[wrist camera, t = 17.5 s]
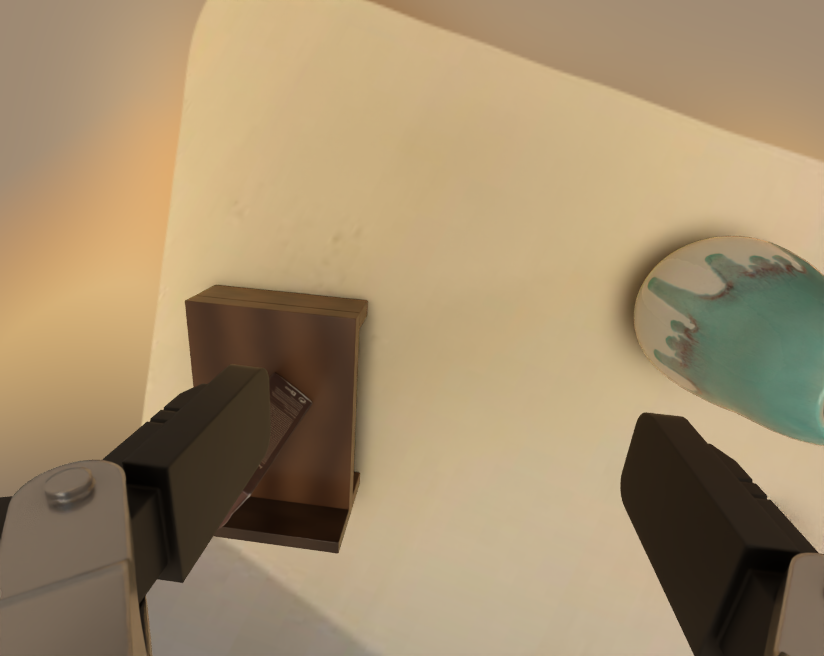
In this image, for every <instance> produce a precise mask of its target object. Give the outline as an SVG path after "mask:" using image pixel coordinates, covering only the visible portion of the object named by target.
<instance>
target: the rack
mask: <svg viewBox="0 0 824 656" xmlns="http://www.w3.org/2000/svg"><path fill="white" fill-rule="evenodd" d="M185 306H186V316H187V326H188V336H189V346H190V356H191V366H192V376H193V386H194V387H196V386H198V385H200V384H202V383H204V384H208V383H209V382H211V381H212V380H213V379H214V378H215V377H216V376H217V375H218V374H219V373H221V372H222V371H223V370H224V369H225V368H226V367H227V366H229V365H231V364H233V365H242V366H250V367H259V368H265V369H266V370H267V372H268V375H269V377H270V376H271V375H272V374H273V373H276V374H278V375H279V376H281V377H282V378H283V379H284V380H286V381H287V382H289V383H290V384H291V385H292V386H294V387H295V388H297V389H298V390H299V391H300V392H301V393H302V394H304V395H306V396H307V397H308V399H309V400H310V401H311V402H312V405H311V407H310V408H309V410H308V411H307V413H306V414H305V416H304V417H303V419H302V420H301V422H300V423H299V424H298V426H297V427H296V429H295V430H294V432H293V433H292V435H291V436H290V438H289V439H288V441H287V442H286V444H285V445H284V447H283V448H282V450H281V451H280V453H279V454H278V456H277V457H276V459H275V460H274V462H273V463H272V465H271V466H270V468H269V469H268V471H267V472H266V473H265V475H264V476H263V478H262V480H261V481H260V482H259V484H258V485H257V487H256V488H255V490H254V491H253V493H252V494H251V495H250V497H249V498H248V499H247V500H246V501H245V502H244V503H243V504H242V505H241V506H240V507H239V508H238V509H237V510H236V511H235V512H234V513H233V514H232V515H231V517H230V519H229V520H228V522H227V523H226V524H225V525H224V526H222V527H221V528H219V529H218V530H217V531H216V532H215V534H214V536H216V537H223V538H230V539H238V540H245V541H252V542H259V543H266V544H274V545H281V546H288V547H295V548H302V549H310V550H317V551H324V552H331V553H339V550H340V547H341V543H342V540H343V537H344V534H345V530H346V527H347V524H348V520H349V517H350V514H351V510H352V507H353V504H354V501H355V497H356V494H357V491H358V488H359V484H360V473H358V472H354V450H355V424H356V399H357V374H358V348H359V329H360V327H361V325H362V324H363V322H364V320H365V318H366V317H367V307H368V301H367V300H357V299H347V298H338V297H328V296H318V295H309V294H299V293H289V292H280V291H270V290H260V289H251V288H241V287H231V286H221V285H214V286H212V287H210V288H209V289H207V290H205V291H203V292H201V293H199V294H197V295H195V296H193V297H191V298H189V299H187V300H185Z"/></svg>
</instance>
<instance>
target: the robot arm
mask: <svg viewBox="0 0 824 656" xmlns="http://www.w3.org/2000/svg"><path fill="white" fill-rule="evenodd" d="M270 435H271V420H270V391H269V375H268V372H267V370H266V369H265V368H259V367H250V366H242V365H233V364H231V365H229V366H227V367H226V368H225V369H224V370H223V371H222V372H221V373H219V374H218V375H217V376H216V377H215V378H214V379H213V380H212V381H211V382H209V383H208V384H204V383H202V384H200V385H198V386H196V387H194V388H191V389H189V390H187V391H185V392H183V393H180V394H179V395H178V396H177V397H176V398H174V399H173V400H172V401H171V402H170V403H168V404H167V405H166V406H165V407H164V410H160V411H159V412H158V413H157V414H156V415H154V416H153V417H152V418H151V420H150V422H146V423H145V424H144V425H143V426H141V427H140V428H139V429H138V430H137V431H135V432H134V433H133V434H132V435H131V436H130V437H128V438H127V439H126V440H125V441H124V442H123V443H121V444H120V445H119V446H118V447H117V448H116V449H114V450H113V451H112V452H111V453H110V454H109V455H107V456H106V457H105V458H104V459H103V460H85V461H78V462H73V463H69V464H65V465H62V466H59V467H56V468H53V469H51V470H48V471H46V472H44V473H42V474H40V475H38V476H36V477H34V478H33V479H31V480H30V481H28V482H27V483H26V484H25V485H23V486H22V487H21V488H20V489H19V490H18V491H17V492H16V493H15V494H14V496H11V497H1V498H0V656H153V655H152V645H151V635H150V625H149V615H148V605H147V599H146V594H147V592H148V591H149V590H150V588H151V587H152V585H153V584H154V583H155V581H156V580H157V579H160V580H167V581H174V582H180V583H183V582H184V580H185V579H186V577H187V576H188V574H189V573H190V571H191V569H192V568H193V566H194V565H195V563H196V562H197V560H198V559H199V557H200V556H201V554H202V553H203V551H204V549H205V548H206V546H207V545H208V543H209V542H210V540H211V539H212V537H213V536H214V534H215V532H216V531H217V529H218V528H219V526H220V525H221V523H222V522H223V520H224V519H225V517H226V516H227V514H228V512H229V511H230V509H231V508H232V506H233V505H234V503H235V502H236V500H237V499H238V497H239V496H240V494H241V492H242V491H243V489H244V488H245V486H246V485H247V483H248V482H249V480H250V479H251V477H252V476H253V474H254V472H255V471H256V469H257V468H258V466H259V465H260V463H261V462H262V460H263V458H264V457H265V455H266V452H267V449H268V446H269V442H270ZM621 497H622V501H623V504H624V507H625V509H626V511H627V513H628V515H629V517H630V520H631V522H632V524H633V526H634V528H635V530H636V532H637V535H638V537H639V539H640V541H641V543H642V545H643V547H644V549H645V552H646V554H647V556H648V558H649V560H650V562H651V564H652V566H653V569H654V571H655V573H656V575H657V577H658V579H659V581H660V584H661V586H662V588H663V590H664V592H665V594H666V596H667V598H668V601H669V603H670V605H671V607H672V609H673V611H674V613H675V615H676V618H677V620H678V622H679V624H680V626H681V628H682V630H683V633H684V635H685V637H686V639H687V641H688V643H689V645H690V647H691V650H692V652H693V654H694V656H824V554H819V553H818V552H817V551H816V550H815V548H814V547H813V546H812V545H811V544H810V543H809V542H808V541H807V540H806V538H805V537H804V536H803V535H802V534H801V533H800V532H799V531H798V530H797V528H796V527H795V526H794V525H793V524H792V523H791V522H790V521H789V520H788V519H787V517H786V516H785V515H784V514H783V513H782V512H781V511H780V510H779V509H778V507H777V506H776V505H775V504H774V503H773V502H772V501H771V500H767V495H766V494H765V493H764V492H763V491H762V490H761V489H760V488H759V486H758V485H757V484H755V483H752V479H751V478H750V476H749V475H748V474H747V473H746V472H745V471H744V470H743V469H742V468H741V467H740V465H739V464H738V463H737V462H736V461H735V460H733V459H732V458H730V457H729V456H727V455H726V454H725V453H723V452H722V451H720V450H719V449H717V448H716V447H714V446H713V445H711V444H707V442H706V441H705V440H704V439H703V438H702V437H701V435H700V434H699V433H698V432H697V431H696V430H695V429H694V427H693V426H692V425H691V424H690V423H689V422H688V420H687V419H686V418H684V417H681V416H672V415H663V414H654V413H642V414H641V415H640V416H639V418H638V420H637V423H636V426H635V429H634V433H633V436H632V440H631V443H630V447H629V450H628V454H627V457H626V461H625V464H624V468H623V471H622V475H621Z"/></svg>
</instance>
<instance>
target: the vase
mask: <svg viewBox="0 0 824 656" xmlns="http://www.w3.org/2000/svg"><path fill="white" fill-rule="evenodd" d="M634 327H635V332H636V336H637V339H638V342H639V344H640V347H641V349H642V350H643V352H644V354H645V356H646V357H647V358H648V359H649V361H650V362H651V363H652V364H653V365H654V366H655V367H656V368H657V369H658V370H659V371H660V372H661V373H662V374H663V375H664V376H666V377H667V378H668V379H670V380H671V381H672V382H674V383H676V384H677V385H678V386H680V387H682V388H683V389H685V390H687V391H688V392H690V393H692V394H694V395H696V396H698V397H700V398H702V399H704V400H706V401H708V402H710V403H712V404H714V405H717V406H719V407H721V408H724V409H726V410H729V411H732V412H734V413H737V414H739V415H741V416H743V417H745V418H747V419H749V420H751V421H753V422H755V423H757V424H759V425H761V426H763V427H765V428H767V429H769V430H771V431H774V432H776V433H779V434H781V435H784V436H786V437H789V438H792V439H795V440H798V441H802V442H806V443H810V444H814V445H819V446H824V275H823V274H822V273H821V272H820V271H819V270H818V269H817V268H816V267H814V266H813V265H812V264H810V263H809V262H808V261H806V260H805V259H803V258H801V257H799V256H798V255H796V254H794V253H792V252H791V251H789V250H787V249H785V248H782V247H780V246H778V245H776V244H773V243H771V242H767V241H764V240H760V239H756V238H751V237H742V236H723V237H713V238H708V239H703V240H700V241H696V242H694V243H691V244H688V245H686V246H684V247H682V248H680V249H678V250H676V251H674V252H673V253H671V254H670V255H668V256H667V257H665V258H664V259H663V260H662V261H661V262H659V263H658V264H657V265H656V266H655V267H654V269H653V270H652V271H651V272H650V273H649V275H648V276H647V277H646V279H645V280H644V282H643V284H642V286H641V288H640V290H639V292H638V295H637V298H636V302H635V307H634Z"/></svg>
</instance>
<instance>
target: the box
mask: <svg viewBox="0 0 824 656" xmlns="http://www.w3.org/2000/svg"><path fill="white" fill-rule="evenodd" d="M269 391H270V420H271V435H270V442H269V446H268V449H267V452H266V455H265V457H264V458H263V460H262V462H261V463H260V465H259V466H258V468H257V469H256V471H255V472H254V474H253V476H252V477H251V479H250V480H249V482H248V483H247V485H246V486H245V488H244V489H243V491H242V492H241V494H240V496H239V497H238V499H237V500H236V502H235V503H234V505H233V506H232V508H231V509H230V511H229V512H228V514H227V516H226V517H225V519H224V520H223V522H222V523H221V525H220V526H219V528H221V527H222V526H224V525H225V524H226V523H227V522H228V520H229V519H230V517H231V515H232V514H233V513H234V512H235V511H236V510H237V509H238V508H239V507H240V506H241V505H242V504H243V503H244V502H245V501H246V500H247V499H248V498H249V497H250V495H251V494H252V493H253V491H254V490H255V488H256V487H257V485H258V484H259V482H260V481H261V480H262V478H263V476H264V475H265V473H266V472H267V471H268V469H269V468H270V466H271V465H272V463H273V462H274V460H275V459H276V457H277V456H278V454H279V453H280V451H281V450H282V448H283V447H284V445H285V444H286V442H287V441H288V439H289V438H290V436H291V435H292V433H293V432H294V430H295V429H296V427H297V426H298V424H299V423H300V422H301V420H302V419H303V417H304V416H305V414H306V413H307V411H308V410H309V408H310V407H311V405H312V402H311V401H310V400H309V399H308V397H307V396H306V395H304V394H302V393H301V392H300V391H299V390H298V389H297V388H295V387H294V386H292V385H291V384H290V383H289V382H287V381H286V380H284V379H283V378H282V377H281V376H279V375H278V374H276V373H273V374H272V375H271V376H270V377H269ZM219 528H218V529H219ZM218 529H217V530H218Z"/></svg>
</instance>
